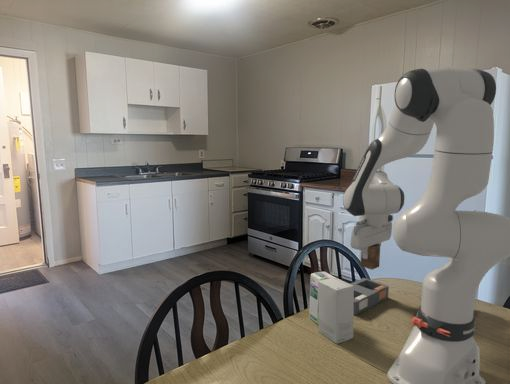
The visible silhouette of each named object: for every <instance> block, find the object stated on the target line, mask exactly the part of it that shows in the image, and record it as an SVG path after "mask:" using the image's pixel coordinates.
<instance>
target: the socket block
mask: <svg viewBox="0 0 510 384" xmlns="http://www.w3.org/2000/svg"><path fill="white" fill-rule="evenodd" d="M349 284H351V285H353V286H354V316H355V317H356V316H357V315H360V314H361V313H363V312H365V311H367V310H369V309H371V308H372V307H375V306H377V305H379V304H380V303H382V302H384V301H385V300H388V299H389V291H390V290H389V287H390V286H389V285H386V284H383V283H381V282H377V281H376V280H371V279H369V278H366V277H362V278H359V279H357V280H355V281H353V282H351V283H349ZM354 316H353V317H354Z"/></svg>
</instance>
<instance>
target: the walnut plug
mask: <svg viewBox="0 0 510 384" xmlns="http://www.w3.org/2000/svg"><path fill="white" fill-rule="evenodd" d="M360 251H361V250H360ZM367 251H368V253H369V258H368V259H364V258H363V257H362V254H363V253H362V251H361V252H360V267H363V268H366V269H369V270H375V269H377V268H379V267H380V262H381V261H380V258H381V246H380V244H375V245H372V246H370V247H368V250H367Z"/></svg>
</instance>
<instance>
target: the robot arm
mask: <svg viewBox="0 0 510 384" xmlns="http://www.w3.org/2000/svg"><path fill="white" fill-rule="evenodd" d="M496 93H497V83H496V80H495V77H493V75H492V74H491V73H490V72H488V71H485V70H482V69H477V68H471V69H470V68H469V69H465V68H458V67H457V68H456V67H455V68H454V67H453V68H452V67H449V66H448V67H447V66H446V67H433V68H432V67H431V68H427V69H424V68H417V69H412V70H409V71H406V72H404V73H403V74H402V75H401V76H400V77H399V79H398V81H397V83H396V85H395V90H394V103H395V105H394V107H393V109H392V113H391V115H390V118H389V121H388V123H387V126H386V127H385V129H384V130H383V132H382V133H381V134H380V135H379V136H378V137H377V138H375V139H374V140H373V141H371V142H370V144H369V145H368V146H367V149H366V150H365V152H364V154H363V157H362V159H361V160H360V163H359V165H358V167H357V169H356V171H355V174H354V175H353V178H352V180H351V181H350V183H349V185H348V186H347V187H346V189H345V190H344V193H343V198H342V202H343V207H344V209H345V211H347V212H348V213H349V214H350V215H352V216H353V217H358V221H356V223H355V224H354V226H353V227H352V229H351V236H350V242H349V243H350V247H351V248H352V249H354V250H358V251H362V253H363V254H362V257H363V258H364V259H368V258H369V253H368V251H367V250H368V247H370V246H372V245H375V244H380V247H381V246H382V243H384V242H386V241H389V240H391V237H392V236H393V239H394V242H395V244H396V246H397V247H398V248H399V249H400V250H401V251H403V252H406V253H410V254H413V255H417V256H422V257H433V258H434V257H438V258H449V259H448V261H447V262H446V263H445V264H444V265H443V266H441V267H439V268H435V269H433V270H430V271H429V272H428V273H427V274H426V275H425V276H424V278H423V280H422V282H421V283H422V284H421V298H420V299H421V300H420V301H421V302H420V305H419V307H418V310H417V313H416V316H414V317H413V318H412V320H411V325H412V326H413V327H412V329H411V331H410V333H409V335H408V337H407V339H406V341H405V343H404V345H403V347H402V350H401V351H400V353H399V354H398V356H397V357H396V359H395V360H394V362H393V363H392V365H391V366H390V368H389V369H388V371H387V374H386V375H387V376H386V377H387V378H388V380H389V381H390V382H391V383H392V384H486V383H487V382H486V380H485V378H483V377H482V376H481V375H480V361H481V360H480V353H481V352H480V350H481V349H480V347H479V345H478V344H477V342H476V340H475V338H474V333H475V329H476V322H475V321H476V319H475V317H474V311H475V303H476V298H477V292H478V289H479V286H480V284H481V282H482V280H483V278H484V277H485V276H486V274H487V273H489V271H490V270H491V269H492V268H493V267H494V266H496V265H497V264H499V263H500V262H501V261H504V260H506V259H508V258H510V217H509V216H505V215H502V214H498V213H492V212H488V211H476V210H472V211H471V210H456V209H457V208H458V207H459V205H460V204H462V203H463V202H464V201H466V200H468V199H470V198H473V197H475V196H478V195H479V194H481V193H482V192H483V191H484V190H485V189H486V188H487V186H488V184H489V180H490V172H491V167H492V158H493V151H494V143H495V142H494V141H495V120H494V110H493V107H492V106H491V105H492V104H493V102H494V99H495V97H496ZM434 125H435V127H436V136H435V142H434V150H433V159H432V167H431V173H430V177H429V182H428V184H427V186H426V189H425V190H424V192H423V193H422V195H421V197H419V199H418V200H416V202H415V203H414V204H413V205H412V206H410V207H408V208H406V209H405V210H403V211H401V210H402V209H403V207H404V205H405V197H406V196H405V193H404V191H403V189H402V187H400V186H399V185H397V184H394V183H393V182H392V181H390V179H389V177H388V174H387V173H386V172H385V171H379V169H380V168H382V167H384V166H385V165H387V164H390V163H392V162H395V161H398V160H402V159H406V158H410V157H412V156H414V155H416V154H418V153H419V152H420V151H421V150H423V148H424V147H425V146H426V144H427V142H428V140H429V138H430V136H431V134H432V133H431V132H432V130H433V127H434ZM400 211H401V212H400ZM399 212H400V213H399ZM397 213H399V214H398V215H397V217H396V219H395V221H394V215H393V214H397ZM393 221H394V222H393Z"/></svg>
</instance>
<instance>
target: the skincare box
mask: <svg viewBox="0 0 510 384" xmlns="http://www.w3.org/2000/svg"><path fill="white" fill-rule="evenodd" d="M318 320H319V325H318V332H319V333H320V334H322V335H323V336H325V337H326V338H328V340H330V341H331V342H333V343H334V344H336V345H337V344H341V343H344V342H348V341H349V340H352V339H353V338H354V286H353V285H351V284H350V283H348V282H346V281H343V280H342V279H339V278H338V277H336V276H333V278H329V279H326V280H321V281H318Z"/></svg>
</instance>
